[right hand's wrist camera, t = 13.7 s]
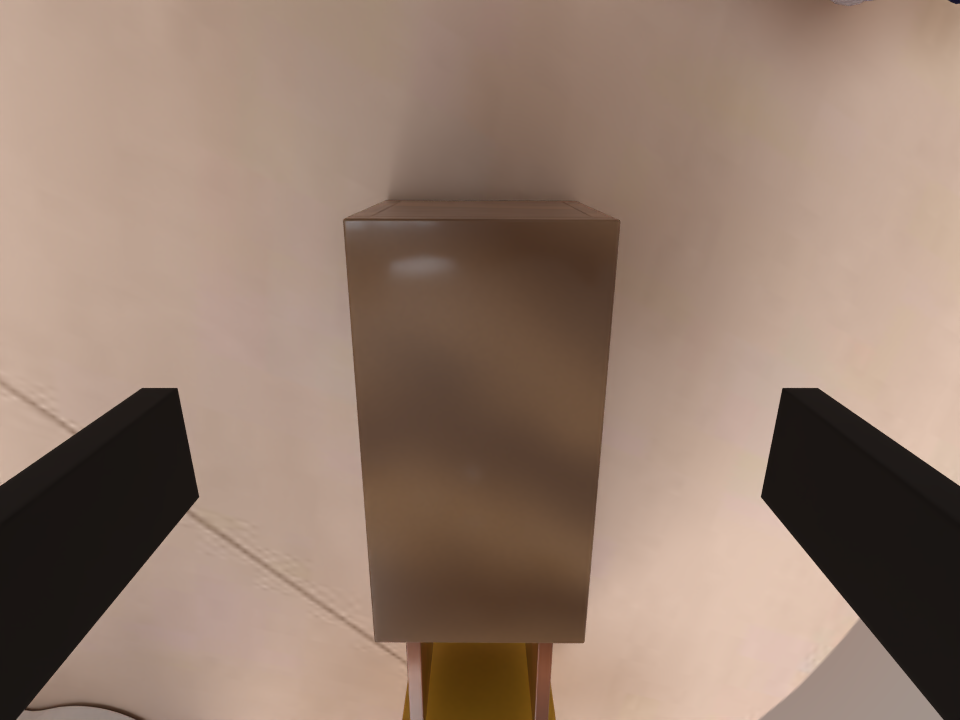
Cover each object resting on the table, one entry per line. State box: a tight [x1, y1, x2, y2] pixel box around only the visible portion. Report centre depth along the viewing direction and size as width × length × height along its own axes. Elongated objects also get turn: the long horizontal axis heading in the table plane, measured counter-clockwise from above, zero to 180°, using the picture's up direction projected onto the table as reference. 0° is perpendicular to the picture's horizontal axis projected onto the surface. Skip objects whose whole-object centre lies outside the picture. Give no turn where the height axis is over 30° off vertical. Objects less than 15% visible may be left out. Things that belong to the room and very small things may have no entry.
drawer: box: [402, 642, 556, 720], centre depth 35 cm, size 25×10×9 cm, turn 0°
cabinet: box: [343, 200, 620, 643], centre depth 31 cm, size 21×11×11 cm, turn 0°
